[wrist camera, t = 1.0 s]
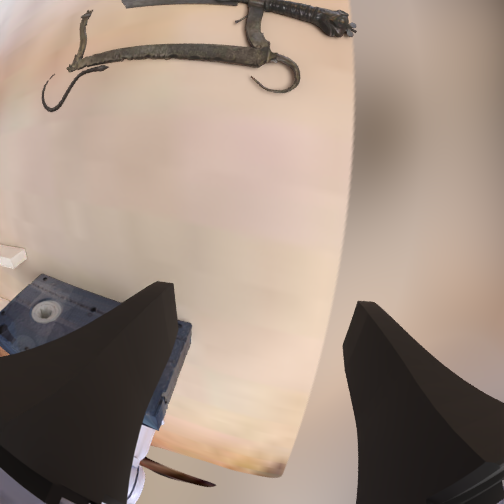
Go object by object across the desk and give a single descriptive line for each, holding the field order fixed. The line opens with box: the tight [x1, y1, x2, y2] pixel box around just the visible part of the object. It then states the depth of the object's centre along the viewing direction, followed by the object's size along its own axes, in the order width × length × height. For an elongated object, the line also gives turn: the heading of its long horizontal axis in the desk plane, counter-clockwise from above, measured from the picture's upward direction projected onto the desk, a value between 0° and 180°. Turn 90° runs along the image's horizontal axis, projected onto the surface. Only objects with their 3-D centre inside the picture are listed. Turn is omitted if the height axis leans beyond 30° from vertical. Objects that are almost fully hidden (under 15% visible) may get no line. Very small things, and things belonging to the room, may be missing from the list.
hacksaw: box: [42, 0, 357, 112], centre depth 13 cm, size 24×10×2 cm, turn 77°
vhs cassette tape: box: [0, 274, 192, 431], centre depth 19 cm, size 18×3×10 cm, turn 77°
